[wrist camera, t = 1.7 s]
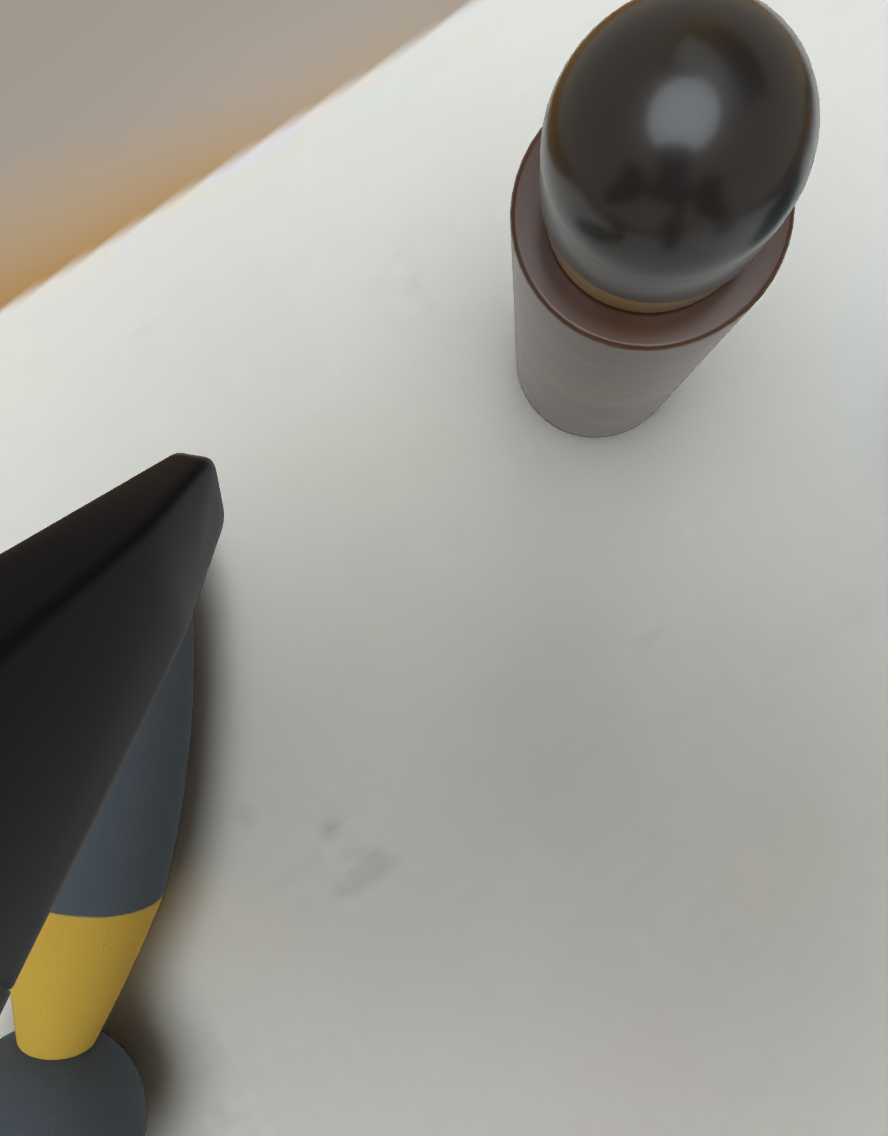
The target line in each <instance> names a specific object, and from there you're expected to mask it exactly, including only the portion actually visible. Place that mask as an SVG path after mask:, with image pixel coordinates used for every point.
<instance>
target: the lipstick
mask: <svg viewBox="0 0 888 1136" xmlns="http://www.w3.org/2000/svg"><path fill="white" fill-rule="evenodd" d="M819 128H820V105H819V94H818V88H817V82H816V79H815V75H814V72H813V69H812V66H811V63H810V60H809V57H808V55H807V53H806V51H805V49H804V47H803V45H802V43H801V41H800V40H799V38H798V37H797V35H796V34H795V32H794V31H793V29H792V28H791V27H790V26H789V25H788V24H787V23H786V22H785V20H784V19H783V18H782V17H781V16H780V15H778V14H777V13H776V12H775V11H774V10H772V9H771V8H770V7H769V6H768V5H766V4H765V3H763V2H761V1H760V0H632V1H630V2H628V3H626V4H625V5H623V6H622V7H620V8H619V9H617V10H616V11H614V12H613V13H612V14H610V15H609V16H607V17H606V18H605V19H604V20H602V21H601V22H600V23H599V24H598V25H597V26H596V27H595V28H593V29H592V31H591V32H590V33H589V34H588V35H587V36H586V37H585V39H584V40H583V41H582V42H581V43H580V44H579V46H578V47H577V48H576V49H575V51H574V52H573V54H572V55H571V57H570V58H569V60H568V61H567V63H566V64H565V66H564V68H563V70H562V72H561V74H560V76H559V78H558V80H557V82H556V84H555V86H554V89H553V91H552V94H551V97H550V100H549V102H548V105H547V109H546V113H545V118H544V122H543V126H542V128H541V129H540V130H539V132H538V133H537V135H536V136H535V138H534V139H533V141H532V142H531V144H530V145H529V147H528V149H527V151H526V153H525V155H524V157H523V159H522V162H521V164H520V167H519V170H518V173H517V175H516V179H515V183H514V188H513V192H512V199H511V210H510V222H511V245H512V268H513V291H514V314H515V337H516V359H517V371H518V377H519V381H520V384H521V387H522V389H523V391H524V394H525V396H526V398H527V399H528V401H529V402H530V404H531V405H532V407H533V408H534V409H535V410H536V411H537V413H538V414H539V415H541V416H542V417H543V418H544V419H545V420H546V421H548V422H549V423H551V424H552V425H553V426H555V427H557V428H559V429H561V430H563V431H566V432H568V433H571V434H575V435H579V436H585V437H605V436H611V435H616V434H619V433H622V432H625V431H627V430H629V429H632V428H634V427H636V426H637V425H639V424H640V423H642V422H643V421H645V420H646V419H647V418H648V417H650V416H651V415H652V414H653V413H654V412H655V411H656V410H657V409H658V408H659V406H660V405H661V404H662V403H663V402H664V401H665V400H666V399H667V398H668V397H669V396H670V395H671V394H672V392H673V391H674V390H675V389H676V388H677V387H678V386H679V385H680V384H681V383H682V382H683V381H684V379H685V378H686V377H687V376H688V375H689V374H690V373H691V372H692V371H693V370H694V369H695V368H696V366H697V365H698V364H699V363H700V362H701V361H702V360H703V359H704V358H705V357H706V356H707V355H708V353H709V352H710V351H711V350H712V349H713V348H714V347H715V346H716V345H717V344H718V343H719V342H720V341H721V339H722V338H723V337H724V336H725V335H726V334H727V333H728V332H729V331H730V330H731V329H732V328H733V326H734V325H735V324H736V323H737V322H738V321H739V320H740V319H741V318H742V317H743V316H744V315H745V313H746V312H747V311H748V310H749V309H750V308H751V307H752V306H753V305H754V304H755V303H756V302H757V301H758V299H759V298H760V297H761V296H762V295H763V293H764V292H765V291H766V289H767V288H768V286H769V285H770V284H771V282H772V281H773V279H774V277H775V275H776V274H777V272H778V270H779V268H780V266H781V264H782V262H783V259H784V257H785V254H786V251H787V249H788V246H789V242H790V238H791V234H792V229H793V222H794V212H795V204H796V202H797V200H798V198H799V196H800V195H801V193H802V191H803V189H804V187H805V185H806V182H807V179H808V177H809V174H810V171H811V168H812V165H813V162H814V158H815V153H816V149H817V145H818V138H819Z"/></svg>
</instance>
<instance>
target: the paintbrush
mask: <svg viewBox="0 0 888 1136" xmlns="http://www.w3.org/2000/svg"><path fill="white" fill-rule="evenodd" d="M193 691H194V618H193V614H192V617H191V620H190V622H189V625H188V628H187V630H186V633H185V636H184V638H183V640H182V642H181V645H180V647H179V649H178V651H177V653H176V656H175V658H174V660H173V662H172V664H171V666H170V668H169V670H168V672H167V674H166V676H165V678H164V680H163V682H162V684H161V686H160V688H159V690H158V692H157V694H156V696H155V698H154V700H153V703H152V705H151V707H150V709H149V711H148V713H147V715H146V717H145V719H144V721H143V723H142V725H141V727H140V729H139V731H138V733H137V735H136V737H135V739H134V741H133V743H132V745H131V747H130V750H129V752H128V754H127V756H126V758H125V760H124V762H123V764H122V766H121V768H120V770H119V772H118V774H117V776H116V778H115V780H114V782H113V784H112V786H111V788H110V790H109V792H108V794H107V796H106V799H105V801H104V803H103V805H102V807H101V809H100V811H99V813H98V815H97V817H96V819H95V821H94V823H93V825H92V827H91V829H90V831H89V833H88V835H87V837H86V839H85V841H84V843H83V846H82V848H81V850H80V852H79V854H78V856H77V858H76V860H75V862H74V864H73V866H72V868H71V870H70V872H69V874H68V876H67V878H66V880H65V882H64V884H63V886H62V888H61V890H60V893H59V895H58V897H57V899H56V901H55V903H54V905H53V907H52V909H51V911H50V913H49V915H48V917H47V919H46V921H45V923H44V925H43V927H42V929H41V931H40V933H39V935H38V937H37V939H36V942H35V944H34V946H33V948H32V950H31V952H30V954H29V956H28V958H27V960H26V962H25V964H24V966H23V968H22V970H21V972H20V974H19V976H18V978H17V980H16V982H15V984H14V986H13V988H12V989H10V991H11V1001H12V1010H13V1018H14V1026H15V1031H14V1032H12V1033H10V1034H8V1035H6V1036H4V1037H3V1038H1V1039H0V1136H145V1132H146V1113H147V1107H146V1100H145V1093H144V1088H143V1084H142V1081H141V1078H140V1075H139V1072H138V1071H137V1069H136V1067H135V1065H134V1063H133V1061H132V1059H131V1058H130V1057H129V1055H128V1054H127V1053H126V1051H125V1050H124V1049H123V1048H122V1047H121V1046H120V1045H119V1044H118V1043H117V1042H116V1041H114V1040H113V1039H112V1038H111V1037H109V1036H108V1035H106V1034H104V1033H103V1032H101V1030H102V1028H103V1026H104V1024H105V1022H106V1020H107V1018H108V1016H109V1014H110V1012H111V1010H112V1008H113V1006H114V1004H115V1002H116V1000H117V998H118V996H119V994H120V992H121V990H122V988H123V986H124V984H125V982H126V980H127V977H128V975H129V973H130V971H131V969H132V967H133V965H134V962H135V960H136V958H137V956H138V954H139V952H140V950H141V947H142V945H143V943H144V941H145V938H146V936H147V934H148V931H149V929H150V927H151V924H152V922H153V920H154V917H155V915H156V913H157V910H158V908H159V906H160V903H161V900H162V898H163V895H164V892H165V889H166V885H167V881H168V877H169V873H170V868H171V863H172V858H173V854H174V849H175V844H176V839H177V833H178V827H179V822H180V816H181V810H182V804H183V798H184V790H185V782H186V774H187V766H188V758H189V749H190V736H191V723H192V711H193Z"/></svg>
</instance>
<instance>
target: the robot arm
mask: <svg viewBox="0 0 888 1136" xmlns="http://www.w3.org/2000/svg"><path fill="white" fill-rule="evenodd" d="M223 521H224V509H223V503H222V498H221V493H220V488H219V483H218V478H217V472H216V468H215V465H214V463H213V462H212V461H211V460H210V459H209V458H207V457H202V456H196V455H190V454H185V453H176V454H173V455H171V456H169V457H167V458H166V459H164V460H162V461H161V462H159V463H157V464H155V465H154V466H152V467H150V468H148V469H147V470H145V471H143V472H142V473H140V474H138V475H136V476H135V477H133V478H131V479H129V480H128V481H126V482H124V483H123V484H121V485H119V486H117V487H116V488H114V489H112V490H110V491H109V492H107V493H105V494H104V495H102V496H100V497H98V498H97V499H95V500H93V501H91V502H90V503H88V504H86V505H85V506H83V507H81V508H79V509H78V510H76V511H74V512H72V513H71V514H69V515H67V516H66V517H64V518H62V519H60V520H59V521H57V522H55V523H53V524H52V525H50V526H48V527H47V528H45V529H43V530H41V531H40V532H38V533H36V534H34V535H33V536H31V537H29V538H28V539H26V540H24V541H22V542H21V543H19V544H17V545H15V546H14V547H12V548H10V549H9V550H7V551H5V552H3V553H2V554H0V1014H1V1012H2V1010H3V1008H4V1006H5V1004H6V1002H7V1000H8V998H9V996H10V990H9V989H12V988H13V986H14V984H15V982H16V980H17V978H18V976H19V974H20V972H21V970H22V968H23V966H24V964H25V962H26V960H27V958H28V956H29V954H30V952H31V950H32V948H33V946H34V944H35V942H36V939H37V937H38V935H39V933H40V931H41V929H42V927H43V925H44V923H45V921H46V919H47V917H48V915H49V913H50V911H51V909H52V907H53V905H54V903H55V901H56V899H57V897H58V895H59V893H60V890H61V888H62V886H63V884H64V882H65V880H66V878H67V876H68V874H69V872H70V870H71V868H72V866H73V864H74V862H75V860H76V858H77V856H78V854H79V852H80V850H81V848H82V846H83V843H84V841H85V839H86V837H87V835H88V833H89V831H90V829H91V827H92V825H93V823H94V821H95V819H96V817H97V815H98V813H99V811H100V809H101V807H102V805H103V803H104V801H105V799H106V796H107V794H108V792H109V790H110V788H111V786H112V784H113V782H114V780H115V778H116V776H117V774H118V772H119V770H120V768H121V766H122V764H123V762H124V760H125V758H126V756H127V754H128V752H129V750H130V747H131V745H132V743H133V741H134V739H135V737H136V735H137V733H138V731H139V729H140V727H141V725H142V723H143V721H144V719H145V717H146V715H147V713H148V711H149V709H150V707H151V705H152V703H153V700H154V698H155V696H156V694H157V692H158V690H159V688H160V686H161V684H162V682H163V680H164V678H165V676H166V674H167V672H168V670H169V668H170V666H171V664H172V662H173V660H174V658H175V656H176V653H177V651H178V649H179V647H180V645H181V642H182V640H183V638H184V636H185V633H186V630H187V628H188V625H189V622H190V620H191V617H192V614H193V611H194V608H195V605H196V603H197V600H198V597H199V594H200V591H201V588H202V585H203V582H204V579H205V577H206V574H207V571H208V568H209V565H210V562H211V559H212V556H213V553H214V551H215V548H216V545H217V542H218V539H219V536H220V533H221V530H222V526H223Z"/></svg>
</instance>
